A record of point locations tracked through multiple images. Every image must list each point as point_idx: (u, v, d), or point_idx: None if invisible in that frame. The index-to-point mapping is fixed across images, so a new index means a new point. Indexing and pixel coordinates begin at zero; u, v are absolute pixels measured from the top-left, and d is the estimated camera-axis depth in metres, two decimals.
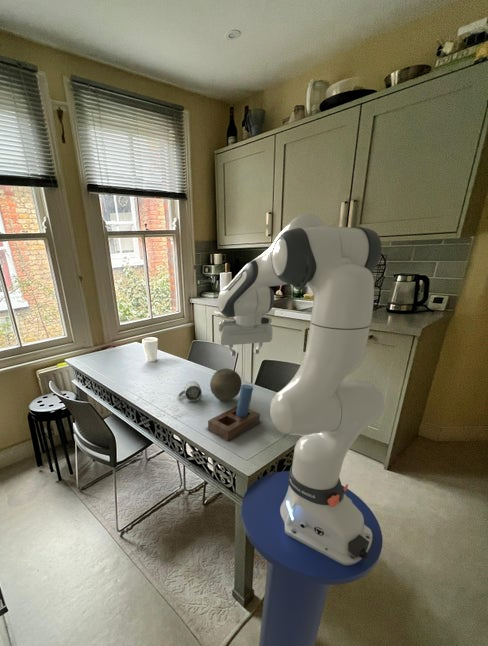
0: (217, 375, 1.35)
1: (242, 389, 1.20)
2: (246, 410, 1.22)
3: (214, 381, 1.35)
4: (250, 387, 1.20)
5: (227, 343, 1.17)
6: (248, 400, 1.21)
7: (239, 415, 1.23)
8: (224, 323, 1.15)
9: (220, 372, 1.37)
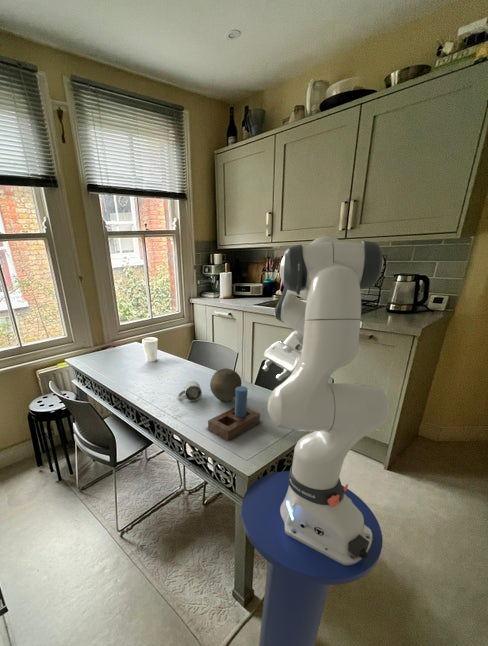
0: (217, 375, 1.35)
1: (236, 392, 1.19)
2: (244, 411, 1.22)
3: (214, 381, 1.35)
4: (244, 389, 1.19)
5: (266, 355, 1.27)
6: (244, 402, 1.20)
7: None
8: (279, 342, 1.28)
9: (220, 372, 1.37)
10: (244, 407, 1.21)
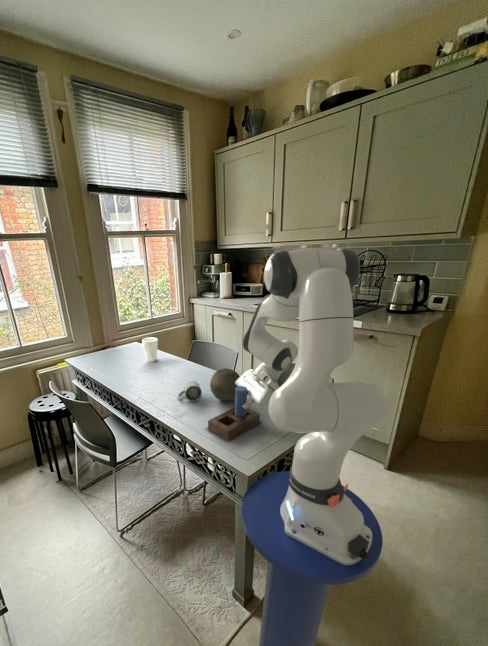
0: (217, 375, 1.35)
1: (236, 392, 1.19)
2: (244, 411, 1.22)
3: (214, 381, 1.35)
4: (244, 389, 1.19)
5: (237, 383, 1.28)
6: None
7: None
8: (250, 371, 1.28)
9: (220, 372, 1.37)
10: None
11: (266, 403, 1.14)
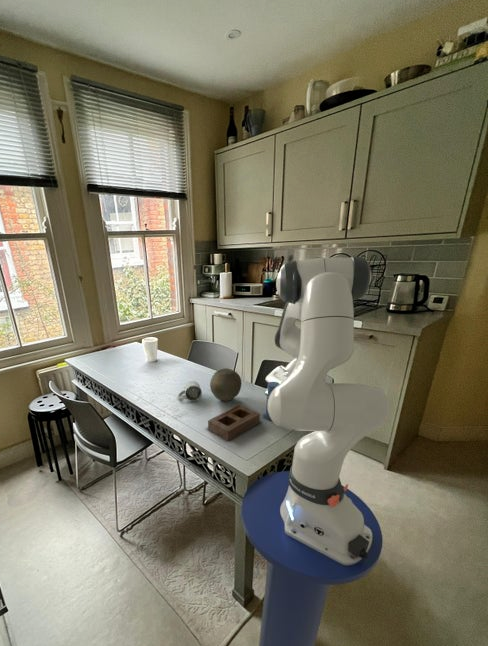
0: (217, 375, 1.35)
1: (269, 387, 1.22)
2: None
3: (214, 381, 1.35)
4: (277, 384, 1.22)
5: (268, 379, 1.30)
6: None
7: None
8: None
9: (220, 372, 1.37)
10: None
11: None
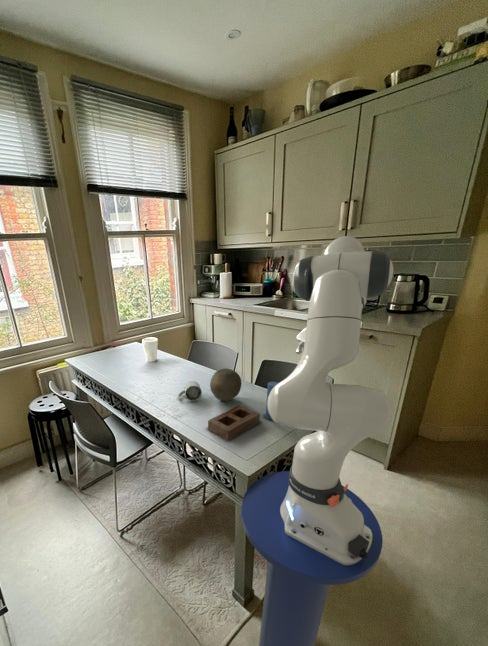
0: (217, 375, 1.35)
1: (269, 387, 1.22)
2: None
3: (214, 381, 1.35)
4: None
5: (299, 337, 1.27)
6: None
7: None
8: None
9: (220, 372, 1.37)
10: None
11: None
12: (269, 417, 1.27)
